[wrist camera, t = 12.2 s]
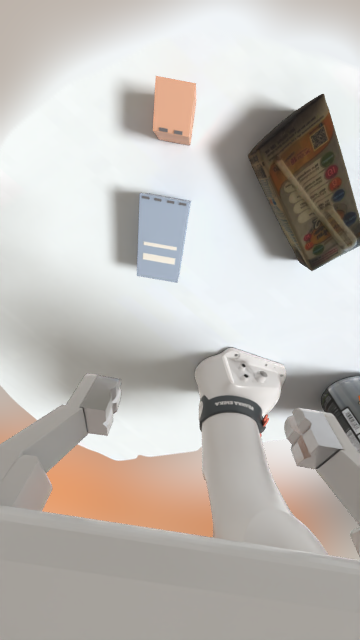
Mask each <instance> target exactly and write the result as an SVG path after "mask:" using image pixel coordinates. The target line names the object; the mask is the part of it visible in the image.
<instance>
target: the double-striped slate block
mask: <svg viewBox="0 0 360 640" xmlns="http://www.w3.org/2000/svg"><path fill="white" fill-rule="evenodd" d="M190 203H191V201H187V200H182V199H176V198H171V197H165V196H159V195H154V194H148V193H140V201H139V229H138V258H137V276H142V277H147V278H153V279H159V280H165V281H171V282H176V283H177V282H178V278H179V274H180V268H181V261H182V255H183V248H184V242H185V235H186V229H187V223H188V216H189V210H190Z"/></svg>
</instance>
